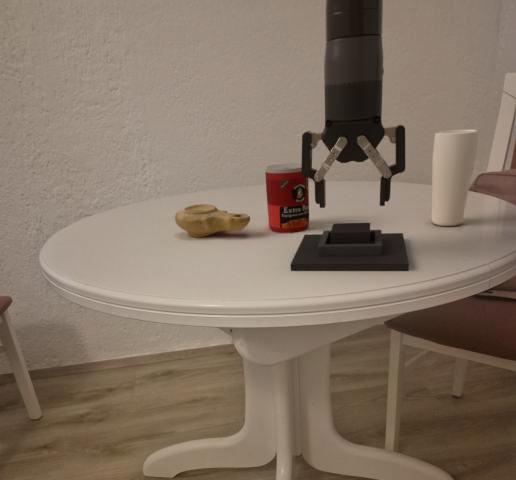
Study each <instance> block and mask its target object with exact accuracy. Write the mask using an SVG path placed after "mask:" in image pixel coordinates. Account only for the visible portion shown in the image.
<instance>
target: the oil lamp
mask: <svg viewBox="0 0 516 480" xmlns="http://www.w3.org/2000/svg"><path fill="white" fill-rule="evenodd" d="M174 221H175V224H176V225H177V226H178V227H179V228H180V229H182V230H183V231H186V232H187V234H188V235H189V236H190V237H193V238H204V237H205V238H206V237H209V236H212V235H214V234H215V233H219V232H237V231H242V230H244V229H245V228H246V227H247V226H248V225H249V223H250V221H251V216H250V215H248V214H247V213H232V212H229V211H227V210H220V209H218V208H217V206H216V205H214V204H193V205H190V206H186V207H184V209H182V210H179V211H177V212H176V213H175V215H174Z"/></svg>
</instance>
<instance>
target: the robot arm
mask: <svg viewBox="0 0 516 480" xmlns="http://www.w3.org/2000/svg"><path fill="white" fill-rule="evenodd" d="M324 16H325V18H324V19H325V24H324V25H325V49H324V60H323V78H324V80H323V81H324V85H323V86H324V89H323V91H324V128H323V130H322V132H321V131H318V132H315V131H313V132H312V131H311V130H307V131H305V132H303V134H302V136H301V163H302V167H301V174H302V176H303V177H305V178H306V177H307V178H308V179H311V180H312V181H313V183H314V201H315V204H316V205H319V208H320V209H325V208H326V205H327V199H326V198H327V194H326V192H327V191H326V190H327V189H326V179H325V176H326V174H327V173H328V171H329V170H330V169H331V168H332V166H333V164H334V163H335V161H337V162H338V163H340V164H347V163H348V164H349V163H350V162H356V163H364V162H365V161H367V160H370V162H371V163H372V164H373V165H374V167H376V169H377V170H378V172H379V173H380V174H381V176H380V180H379V181H380V183H379V207H385V205H386V203H387V202H389V201H390V199H391V187H392V186H391V185H392V184H391V183H392V178H393V177H394V176H396V175H398V174H402V173H405V171H406V127H405V126H404V124H402V123H399V124H397V125H396V126H387V127H384V125H383V123H382V117H383V116H382V114H383V113H382V112H383V111H382V110H383V88H384V87H383V86H384V85H383V83H384V81H383V80H384V73H385V71H384V48H383V20H384V0H325V14H324ZM385 136H386V137H388V140H389V142H390V143H391V144H395V145H394V148H395V150H394V151H395V152H394V153H395V163H393V164H391V165H389V164H388V163H387V162H386V160H385V158H384V157H383V156H382V155H381V153H380V152H379V150H378V149H377V148H378V146H380V143H382V140H383V139H384V138H385ZM320 141H322V143H323V144H324V146H325V147H326V149H327V150H328V151H329V153H328V154H327V156H326V157H325V159H324V160H323V162H322V164H321V165H320V166H319V168H318V169H316V168H313V149H316V148H317V147H318V143H319V142H320Z"/></svg>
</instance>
